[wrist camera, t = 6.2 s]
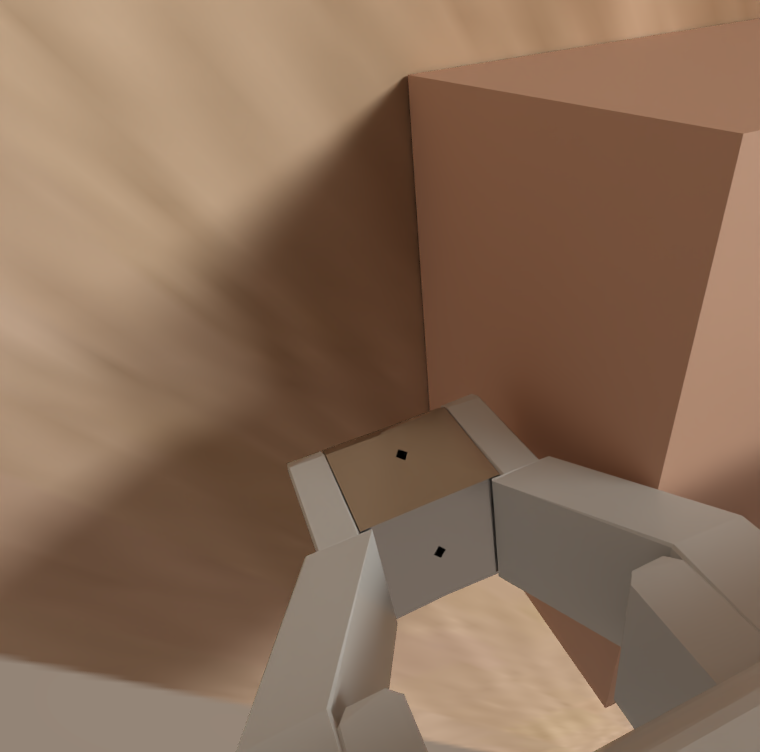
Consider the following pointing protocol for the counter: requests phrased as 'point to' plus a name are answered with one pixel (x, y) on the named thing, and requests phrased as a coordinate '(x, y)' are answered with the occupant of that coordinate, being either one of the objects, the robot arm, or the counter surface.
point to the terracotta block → (601, 263)
